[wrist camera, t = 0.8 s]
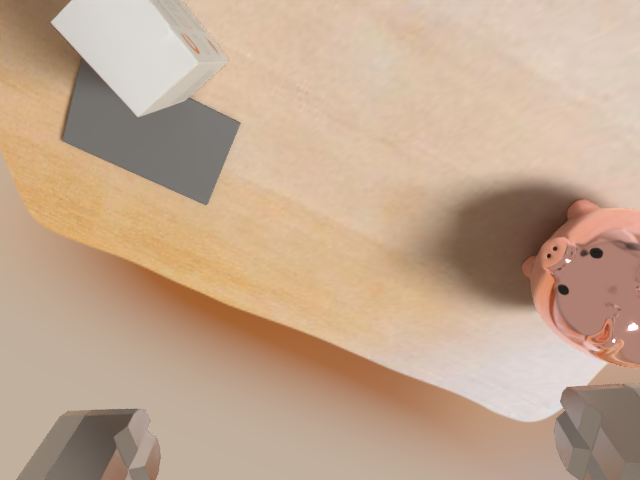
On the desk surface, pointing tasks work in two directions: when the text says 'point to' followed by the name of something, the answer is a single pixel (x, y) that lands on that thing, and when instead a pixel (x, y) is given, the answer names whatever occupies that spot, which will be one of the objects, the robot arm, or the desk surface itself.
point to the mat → (151, 137)
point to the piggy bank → (592, 282)
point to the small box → (142, 49)
